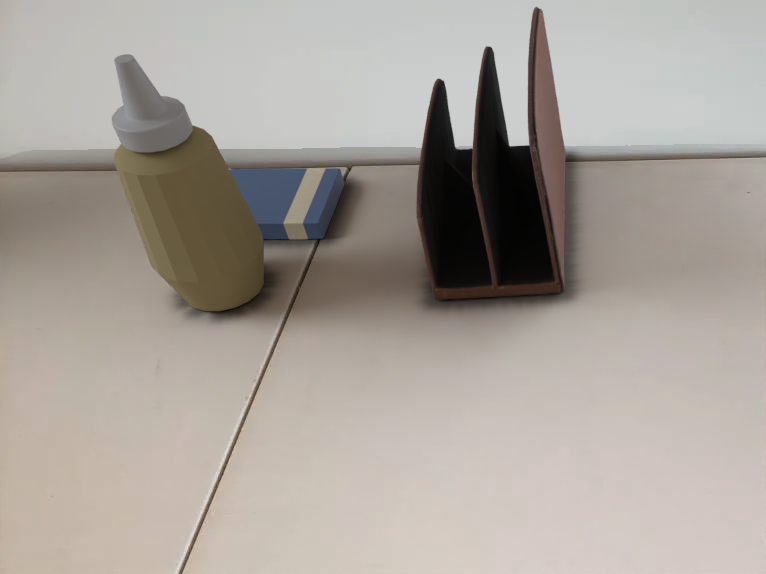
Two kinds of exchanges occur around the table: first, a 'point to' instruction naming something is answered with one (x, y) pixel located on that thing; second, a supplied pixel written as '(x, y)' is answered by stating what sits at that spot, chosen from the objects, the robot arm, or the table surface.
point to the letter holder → (495, 190)
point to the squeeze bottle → (184, 198)
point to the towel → (291, 200)
